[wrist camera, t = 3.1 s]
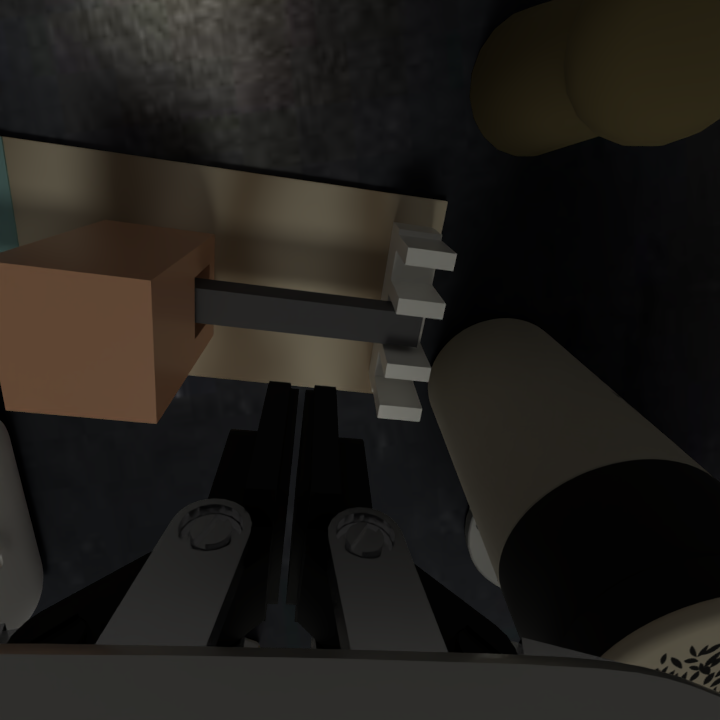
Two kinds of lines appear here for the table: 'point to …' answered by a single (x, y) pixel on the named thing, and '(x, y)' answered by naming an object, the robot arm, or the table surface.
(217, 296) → the dark grey bar
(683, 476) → the travel mug
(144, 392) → the brown rectangular block
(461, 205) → the table surface
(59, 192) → the board
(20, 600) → the cable organizer
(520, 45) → the yellow peg figure
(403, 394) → the cable comb
